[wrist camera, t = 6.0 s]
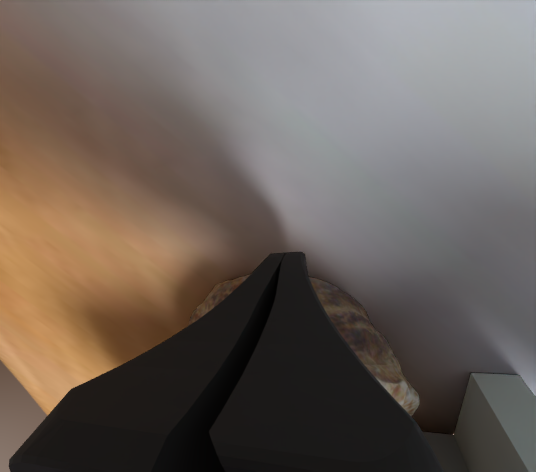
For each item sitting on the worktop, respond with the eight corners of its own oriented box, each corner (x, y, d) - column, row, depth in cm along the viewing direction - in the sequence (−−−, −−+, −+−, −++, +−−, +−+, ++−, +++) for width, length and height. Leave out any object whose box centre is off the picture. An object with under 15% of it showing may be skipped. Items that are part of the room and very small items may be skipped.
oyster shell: (158, 273, 13) (82, 350, 9) (404, 262, 10) (466, 372, 6) (207, 379, 17) (171, 467, 13) (394, 394, 14) (426, 516, 10)
